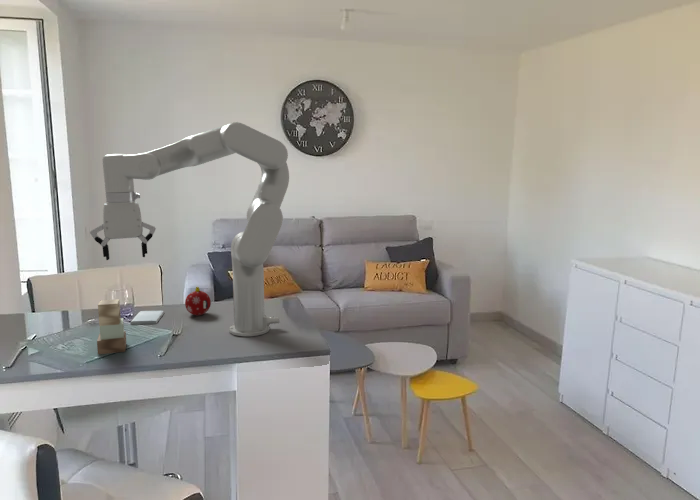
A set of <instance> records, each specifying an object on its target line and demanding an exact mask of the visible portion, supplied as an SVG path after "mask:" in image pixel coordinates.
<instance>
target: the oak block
mask: <svg viewBox="0 0 700 500" xmlns="http://www.w3.org/2000/svg"><path fill="white" fill-rule="evenodd" d="M120 300H121V299H119V298H118V299H117V298H116V299H102V300H100V301H99V302H98V304H97V312H98V313H97V314H98V322H99V323H98V326H99V327H100V326H105V325H118V324H119V323H120V320H121V318H122V317H121V316H122V315H121V304H120V303H121V302H120Z"/></svg>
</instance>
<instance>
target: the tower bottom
mask: <svg viewBox="0 0 700 500" xmlns="http://www.w3.org/2000/svg"><path fill="white" fill-rule="evenodd" d="M126 333H127V331H126V330H124V338H114V339H105V340H100V332H99V334H98V336H97V340H96V348H97V349H96V350H97V355H105V354H113V353H115V354H116V353H122V352H123V353H125V352H126V349H127V344H126V343H127V334H126Z"/></svg>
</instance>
